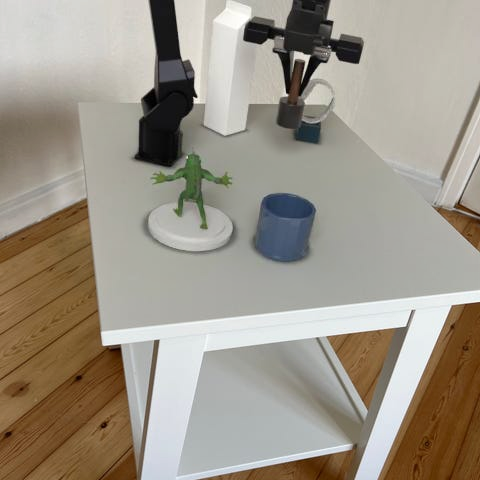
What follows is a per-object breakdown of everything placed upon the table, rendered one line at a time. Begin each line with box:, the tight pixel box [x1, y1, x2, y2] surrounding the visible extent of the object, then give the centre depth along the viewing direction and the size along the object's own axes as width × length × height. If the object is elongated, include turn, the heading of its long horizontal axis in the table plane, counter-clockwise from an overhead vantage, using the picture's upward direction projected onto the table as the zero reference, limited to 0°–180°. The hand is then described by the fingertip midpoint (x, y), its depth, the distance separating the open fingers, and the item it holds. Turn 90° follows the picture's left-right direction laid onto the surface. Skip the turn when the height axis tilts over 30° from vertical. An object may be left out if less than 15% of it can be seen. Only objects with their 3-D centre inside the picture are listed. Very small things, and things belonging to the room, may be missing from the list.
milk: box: [203, 0, 258, 137], centre depth 103 cm, size 6×6×22 cm
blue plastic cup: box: [254, 192, 317, 262], centre depth 77 cm, size 7×7×6 cm
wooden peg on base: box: [275, 58, 306, 130], centre depth 94 cm, size 4×4×10 cm
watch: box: [295, 77, 336, 144], centre depth 109 cm, size 6×8×11 cm
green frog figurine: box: [147, 146, 234, 252], centre depth 76 cm, size 12×12×10 cm
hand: (293, 94), depth 94 cm, fingers closed on wooden peg on base, 2 cm apart
